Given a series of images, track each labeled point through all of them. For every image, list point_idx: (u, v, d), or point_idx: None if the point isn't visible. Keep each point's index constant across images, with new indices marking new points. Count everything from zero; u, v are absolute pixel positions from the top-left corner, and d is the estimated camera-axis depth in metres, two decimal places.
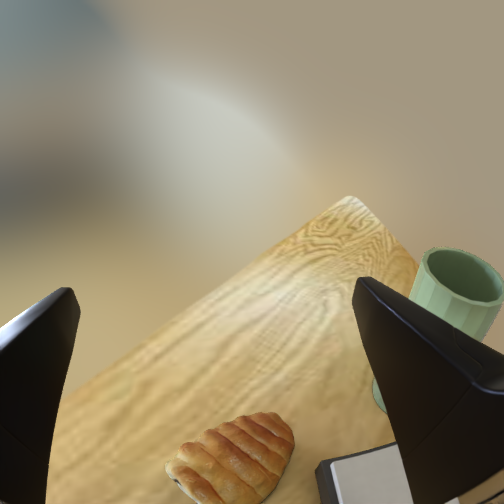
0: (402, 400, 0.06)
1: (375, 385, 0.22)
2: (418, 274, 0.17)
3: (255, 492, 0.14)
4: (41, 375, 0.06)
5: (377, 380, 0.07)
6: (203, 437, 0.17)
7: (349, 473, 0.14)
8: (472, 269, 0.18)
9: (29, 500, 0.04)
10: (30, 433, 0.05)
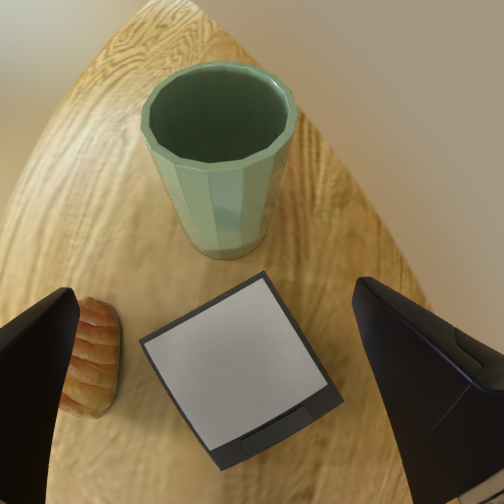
0: (402, 400, 0.06)
1: None
2: None
3: (100, 388, 0.17)
4: (42, 376, 0.06)
5: (377, 380, 0.07)
6: None
7: (163, 354, 0.18)
8: (250, 83, 0.13)
9: (29, 500, 0.04)
10: (30, 433, 0.05)
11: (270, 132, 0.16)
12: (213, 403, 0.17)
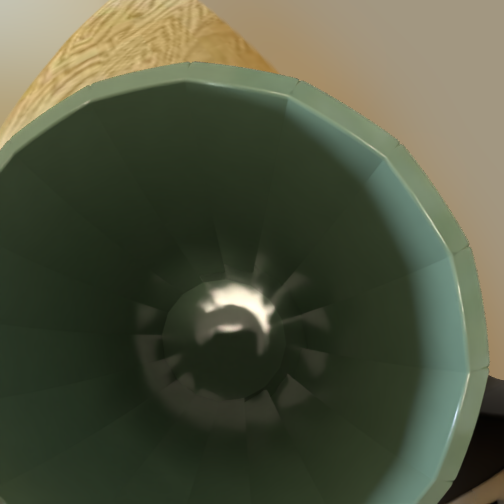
0: None
1: None
2: None
3: None
4: None
5: None
6: None
7: None
8: (286, 153, 0.04)
9: None
10: None
11: (329, 282, 0.06)
12: None
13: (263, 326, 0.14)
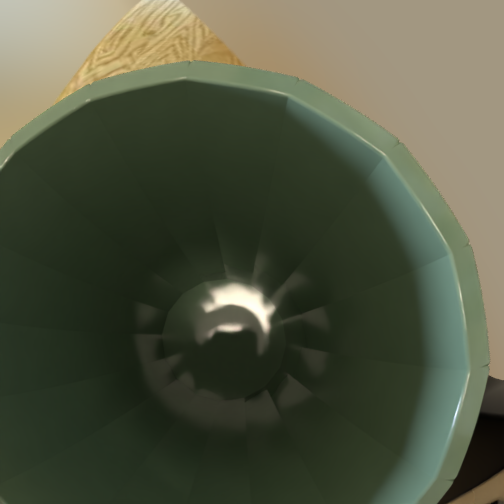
0: None
1: None
2: None
3: None
4: None
5: None
6: None
7: None
8: (286, 151, 0.04)
9: None
10: None
11: (329, 281, 0.06)
12: None
13: (263, 325, 0.14)
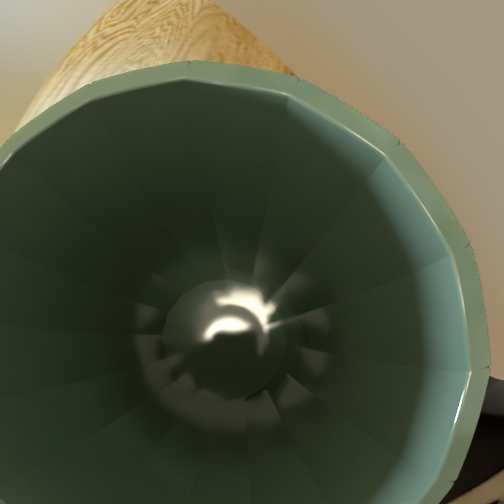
0: None
1: None
2: None
3: None
4: None
5: None
6: None
7: None
8: (286, 152, 0.04)
9: None
10: None
11: (330, 282, 0.06)
12: None
13: (263, 326, 0.14)
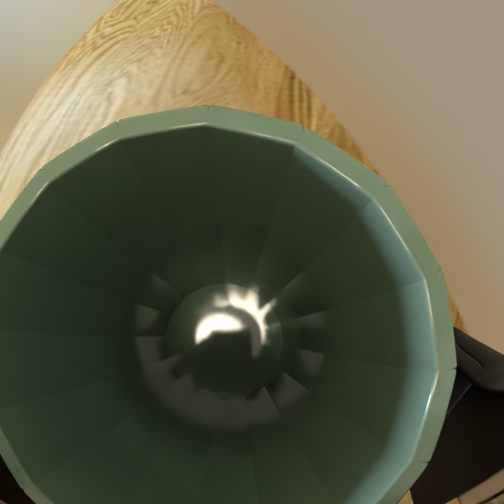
0: None
1: None
2: None
3: None
4: None
5: None
6: None
7: None
8: (290, 186, 0.05)
9: (29, 500, 0.04)
10: None
11: (325, 292, 0.07)
12: None
13: (262, 327, 0.15)
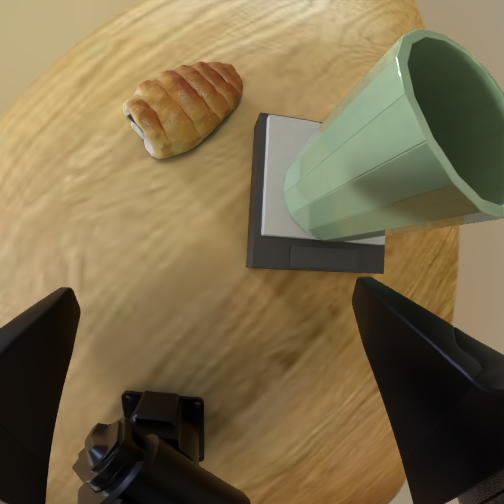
0: (402, 400, 0.06)
1: (288, 169, 0.18)
2: (387, 54, 0.07)
3: (194, 127, 0.19)
4: (42, 376, 0.06)
5: (377, 380, 0.07)
6: (160, 74, 0.18)
7: (280, 130, 0.19)
8: (490, 110, 0.08)
9: (29, 500, 0.04)
10: (30, 433, 0.05)
11: (464, 165, 0.11)
12: None
13: None
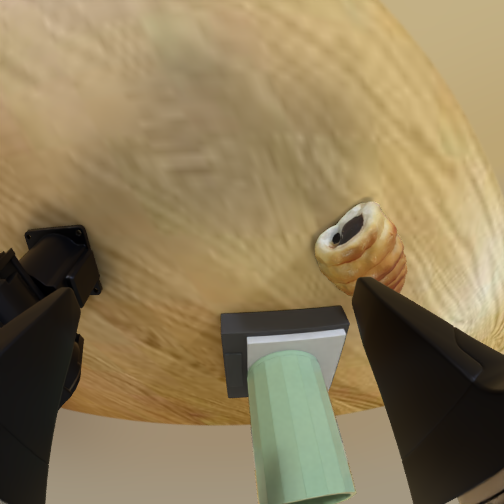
0: (402, 400, 0.06)
1: (297, 358, 0.23)
2: (338, 480, 0.14)
3: (340, 282, 0.22)
4: (41, 376, 0.06)
5: (377, 380, 0.07)
6: (398, 250, 0.20)
7: (332, 343, 0.24)
8: (320, 497, 0.17)
9: (29, 500, 0.04)
10: (30, 433, 0.05)
11: None
12: None
13: None
